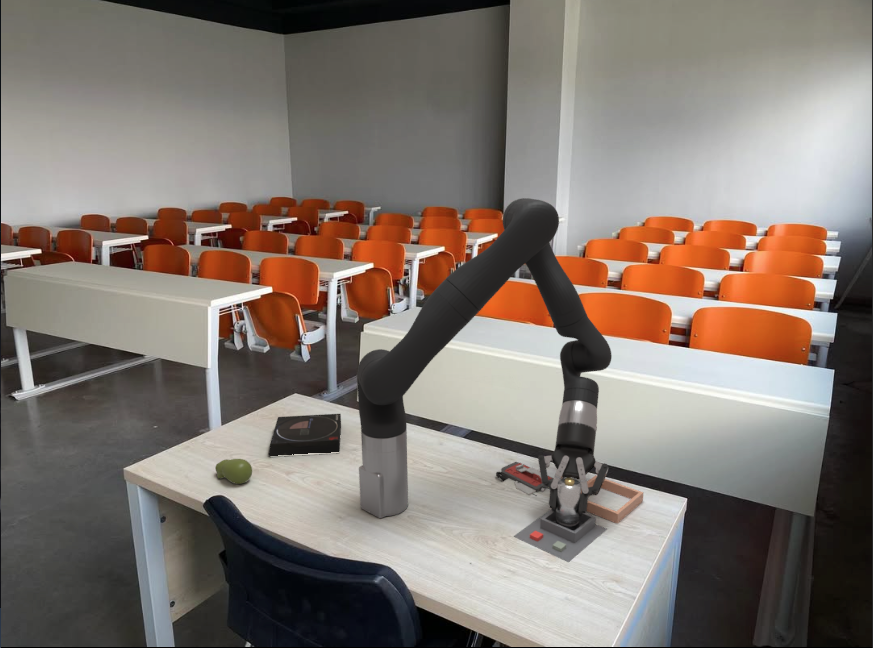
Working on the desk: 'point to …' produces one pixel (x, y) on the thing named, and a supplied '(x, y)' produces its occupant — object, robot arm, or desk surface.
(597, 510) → the pot
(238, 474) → the pear
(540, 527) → the checker plate
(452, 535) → the desk surface
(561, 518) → the cell
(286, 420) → the portable cd player
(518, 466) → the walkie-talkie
